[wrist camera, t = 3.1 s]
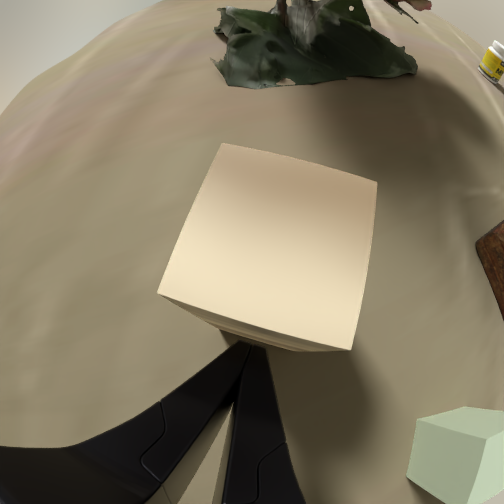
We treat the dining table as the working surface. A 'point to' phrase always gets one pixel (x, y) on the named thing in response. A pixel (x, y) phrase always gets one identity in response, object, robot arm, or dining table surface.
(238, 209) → the maple block
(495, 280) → the brick
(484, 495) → the sage block
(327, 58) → the rose bouquet
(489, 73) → the supplement bottle
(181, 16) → the dining table surface
